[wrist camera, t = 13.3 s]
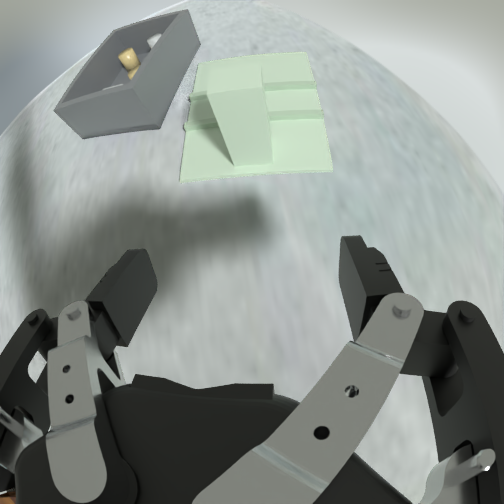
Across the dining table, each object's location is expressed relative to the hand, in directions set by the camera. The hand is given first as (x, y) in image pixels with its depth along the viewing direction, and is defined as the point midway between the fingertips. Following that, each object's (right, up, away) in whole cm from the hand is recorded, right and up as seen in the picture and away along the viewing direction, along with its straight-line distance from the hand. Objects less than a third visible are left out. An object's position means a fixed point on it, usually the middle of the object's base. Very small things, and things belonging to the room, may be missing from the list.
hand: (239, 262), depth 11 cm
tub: (-13, +20, +15) cm, 28 cm away
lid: (+1, +14, +12) cm, 18 cm away
